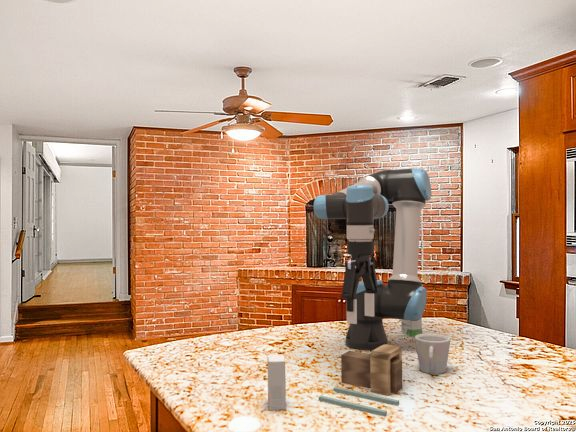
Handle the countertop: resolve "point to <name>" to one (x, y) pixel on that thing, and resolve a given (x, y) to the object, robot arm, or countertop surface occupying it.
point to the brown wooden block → (367, 371)
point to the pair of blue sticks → (358, 406)
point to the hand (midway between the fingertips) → (360, 319)
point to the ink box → (411, 327)
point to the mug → (432, 352)
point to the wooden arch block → (382, 367)
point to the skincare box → (276, 382)
